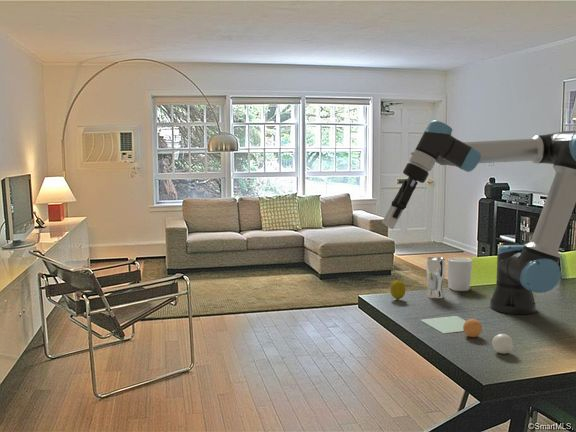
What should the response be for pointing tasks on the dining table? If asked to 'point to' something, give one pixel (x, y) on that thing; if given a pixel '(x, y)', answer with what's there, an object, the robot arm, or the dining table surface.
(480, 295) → the dining table surface
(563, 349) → the dining table surface
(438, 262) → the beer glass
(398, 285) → the lemon
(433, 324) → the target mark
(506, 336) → the cue ball
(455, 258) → the candle holder
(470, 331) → the object ball
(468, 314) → the dining table surface
